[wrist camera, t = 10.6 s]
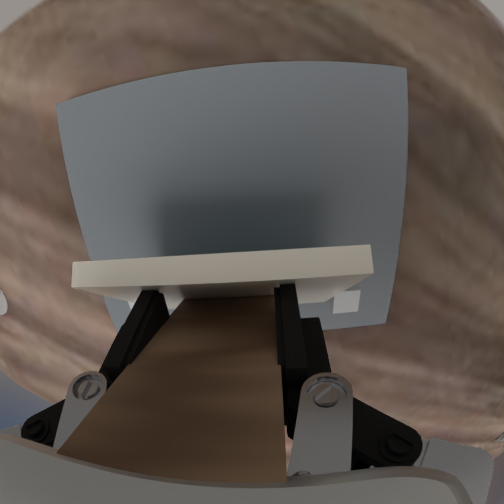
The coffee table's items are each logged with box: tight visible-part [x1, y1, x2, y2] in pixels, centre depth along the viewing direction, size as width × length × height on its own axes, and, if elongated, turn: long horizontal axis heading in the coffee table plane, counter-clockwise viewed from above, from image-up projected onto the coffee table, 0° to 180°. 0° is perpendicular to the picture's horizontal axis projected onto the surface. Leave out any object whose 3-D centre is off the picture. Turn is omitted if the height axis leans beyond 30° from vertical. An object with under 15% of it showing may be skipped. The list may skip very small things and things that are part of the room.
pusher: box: [57, 295, 287, 483], centre depth 9 cm, size 4×4×10 cm
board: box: [56, 61, 408, 334], centre depth 18 cm, size 20×17×3 cm
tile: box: [71, 244, 374, 309], centre depth 14 cm, size 10×10×1 cm
